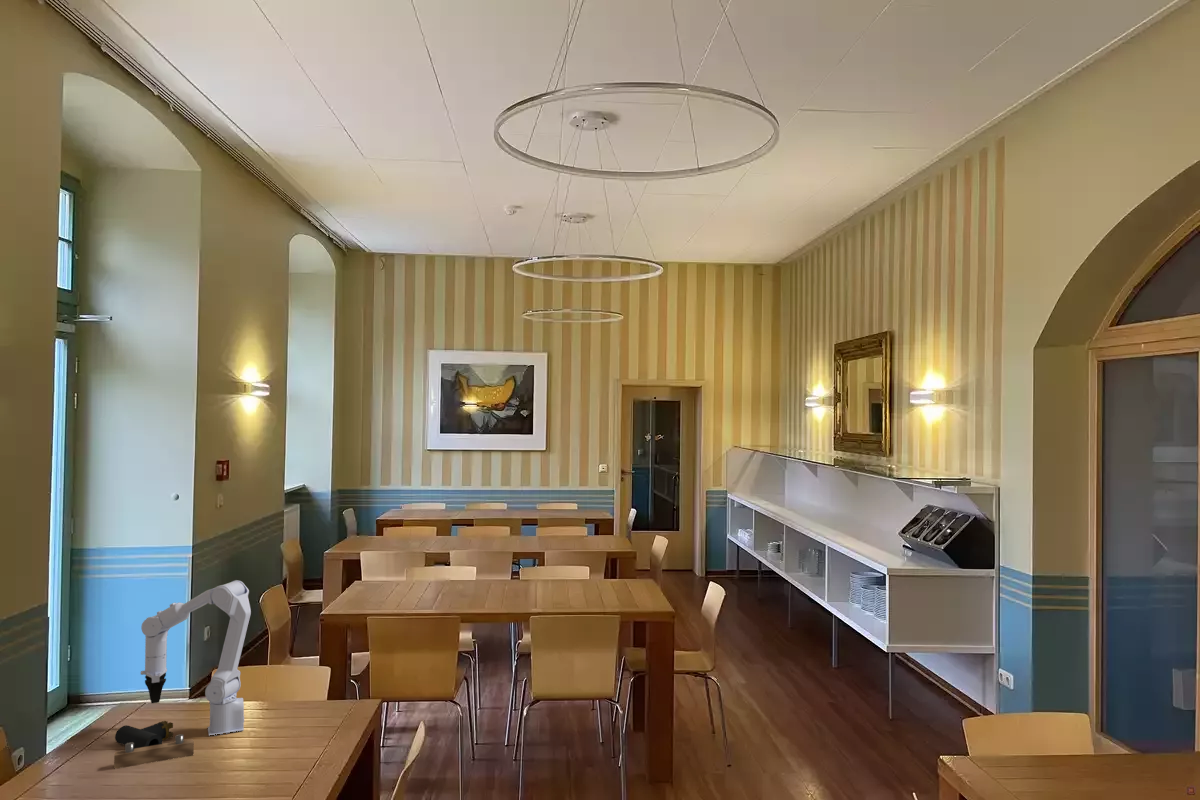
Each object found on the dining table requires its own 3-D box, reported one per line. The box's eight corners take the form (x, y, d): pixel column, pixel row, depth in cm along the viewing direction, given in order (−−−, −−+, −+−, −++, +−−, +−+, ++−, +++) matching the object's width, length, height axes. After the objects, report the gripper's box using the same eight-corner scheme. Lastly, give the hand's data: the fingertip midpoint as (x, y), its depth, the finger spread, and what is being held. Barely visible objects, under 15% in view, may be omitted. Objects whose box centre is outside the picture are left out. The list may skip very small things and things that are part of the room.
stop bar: (193, 751, 229) (193, 731, 230) (193, 755, 227) (193, 735, 227) (114, 765, 220) (114, 744, 220) (114, 769, 218) (114, 748, 218)
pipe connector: (154, 715, 245) (184, 724, 237) (154, 733, 245) (184, 742, 237) (115, 728, 235) (144, 737, 227) (115, 746, 235) (145, 756, 227)
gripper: (141, 651, 253) (140, 696, 252) (140, 662, 240) (139, 709, 240) (167, 648, 256) (166, 692, 256) (167, 659, 244) (166, 705, 243)
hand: (155, 700), depth 248 cm, fingers open, 4 cm apart
